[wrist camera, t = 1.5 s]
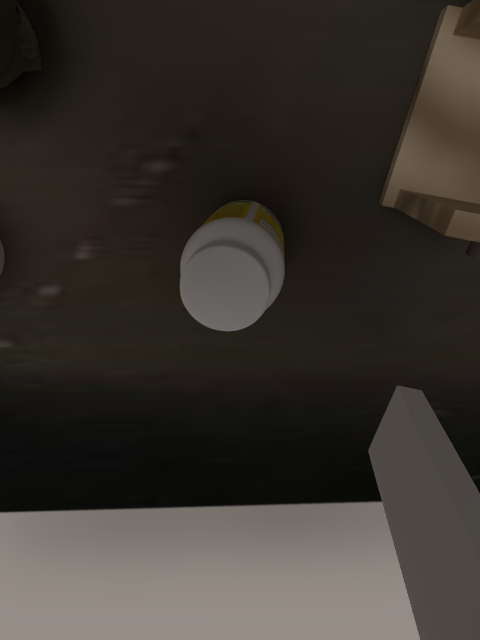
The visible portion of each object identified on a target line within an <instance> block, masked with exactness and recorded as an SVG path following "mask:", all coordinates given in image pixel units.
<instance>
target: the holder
mask: <svg viewBox="0 0 480 640" xmlns="http://www.w3.org/2000/svg"><path fill="white" fill-rule="evenodd" d="M379 204H380V205H382V206H387V207H393V208H396V209H398V210H400V211H402V212H403V213H405V214H407V215H409V216H411V217H412V218H414V219H416V220H418V221H419V222H421V223H423V224H425V225H427V226H428V227H430V228H432V229H434V230H435V231H437V232H439V233H441V234H443V235H444V236H449V237H454V238H460V239H465V240H470V241H471V242H470V244H469V247H468V249H467V251H466V254H467V255H469V256H471V257H474V258H477V259H480V0H472V1H471V2H470V3H468V4H467V5H466V6H464V7H463V8H461V7H456V6H450V5H447V6H446V7H445V8H444V9H443V10H441V12H440V15H439V18H438V21H437V25H436V28H435V31H434V34H433V37H432V40H431V43H430V46H429V49H428V52H427V55H426V58H425V61H424V65H423V68H422V71H421V74H420V77H419V80H418V83H417V86H416V89H415V92H414V95H413V98H412V101H411V104H410V108H409V111H408V114H407V117H406V120H405V123H404V126H403V129H402V132H401V135H400V138H399V141H398V144H397V148H396V151H395V154H394V157H393V160H392V163H391V166H390V169H389V172H388V175H387V178H386V181H385V184H384V187H383V191H382V194H381V197H380V200H379Z"/></svg>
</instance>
